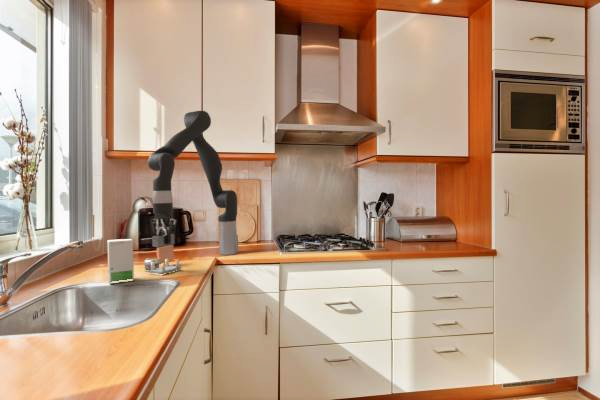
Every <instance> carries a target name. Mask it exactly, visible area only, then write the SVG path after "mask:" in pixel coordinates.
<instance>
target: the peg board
mask: <svg viewBox="0 0 600 400" xmlns="http://www.w3.org/2000/svg"><path fill="white" fill-rule="evenodd" d="M160 265H161V266H160V267H159V268H157V269H155V264H154V262H151V270H149V271H148V273H149V272H150V273H158V274H164V273H169V272H173V271H176V270H180V269H181V270H182V266H180V259H175V265H170V262H169V259H165V263H162V264H160ZM181 270H180V271H181ZM173 273H174V272H173ZM169 274H170V273H169Z"/></svg>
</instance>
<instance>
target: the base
mask: <svg viewBox="0 0 600 400" xmlns="http://www.w3.org/2000/svg"><path fill="white" fill-rule="evenodd" d="M157 268H160V264H158V265H155V269H157ZM145 269H146V270H151V266H145V265H144V270H145Z"/></svg>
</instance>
